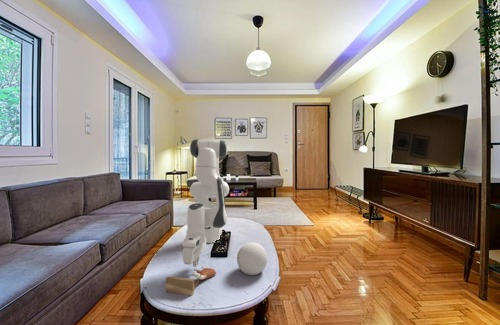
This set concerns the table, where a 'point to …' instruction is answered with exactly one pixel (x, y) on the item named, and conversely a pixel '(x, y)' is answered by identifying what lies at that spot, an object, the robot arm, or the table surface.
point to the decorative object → (252, 258)
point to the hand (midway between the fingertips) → (195, 265)
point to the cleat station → (181, 285)
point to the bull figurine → (204, 273)
